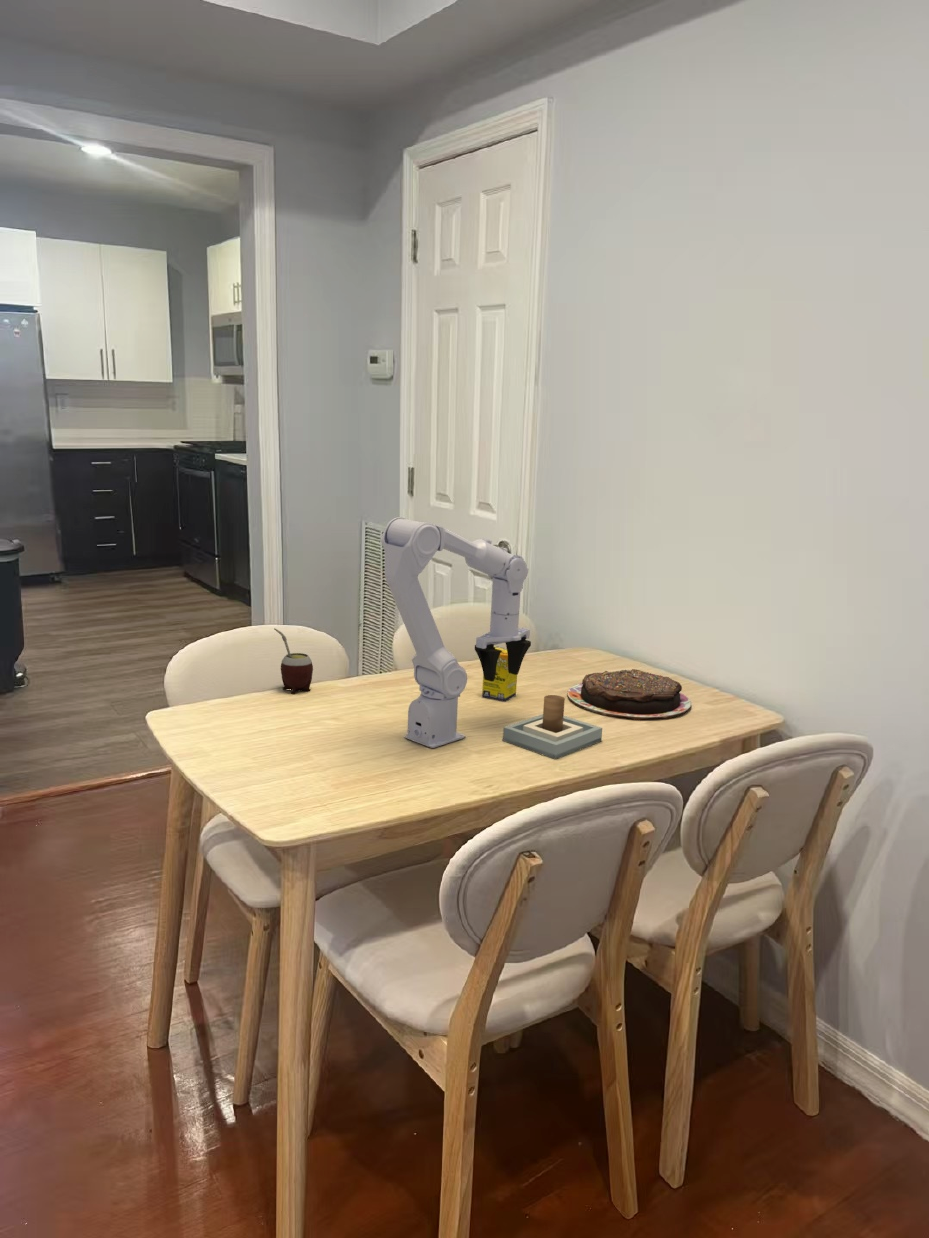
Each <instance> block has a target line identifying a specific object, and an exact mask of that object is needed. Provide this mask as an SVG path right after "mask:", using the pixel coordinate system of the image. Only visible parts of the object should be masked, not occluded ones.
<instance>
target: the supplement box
mask: <svg viewBox="0 0 929 1238" xmlns="http://www.w3.org/2000/svg"><path fill="white" fill-rule="evenodd" d="M494 647H495V649H498V650H501V653H500V655H499V658H498V661H497V666H496V674H495V679H494V681H492V682H491V681H488V680H485V679H484V674H483V673H482V674H483V675H482V691H481V692H482V693H481V697H482V698H487V699H492V700H496V701H501V702H505V703H506V702H507V701H509V700H510V699H512V698H514V697H516V695H517V694H516V693H517V684H518V682H517V681H518V675H514V674H511V673H509V672H508V653H507V647H501V646H497V645H494Z"/></svg>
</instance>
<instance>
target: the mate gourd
mask: <svg viewBox="0 0 929 1238" xmlns="http://www.w3.org/2000/svg"><path fill="white" fill-rule="evenodd" d="M273 629H274V631H276V632H277V633H278V634H279V635H280V636H281V639H282V641H283V642H284V646H285V648H286V649H285V650H286V652H287V653H286V655H285V656H284V657H283V658H282V659H281V663H280V674H281V680H282V683H283V687H282V690H283V691H287V690H286V689H291V690H290V691H291V693H290V694H291V695H296V693H297V692H311V689H310V686H311V683H312V680H313V671H314V667H313V666H314V665H313V662H312V659H311V657H310V656H309V654H307V653H303V652H292V653H291V651H290V648H289V645H288V642H287V637H286V635H285V634H284V633H283V632H282V631H281V630H278V629H277V628H276V627H275V628H273Z"/></svg>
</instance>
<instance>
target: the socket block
mask: <svg viewBox="0 0 929 1238" xmlns="http://www.w3.org/2000/svg"><path fill="white" fill-rule="evenodd" d="M542 724H543V719H541V720H539V721H536V722H533V723H530V724H527V725H524V726H523V731H524V732H527V733H530V734H533V735H536V736H539V737H542V738H545V739H548V740H551V741H554V742H557V741H559V740H562V739H565V738H567V737H570V736H573V735H576V734H578V733H581V732H583V727H580V726H577V725H574V724H571V723H567V722H564V721H563V731H561V732H558V733H554V732H551V731H548V730H545V729H542Z"/></svg>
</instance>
